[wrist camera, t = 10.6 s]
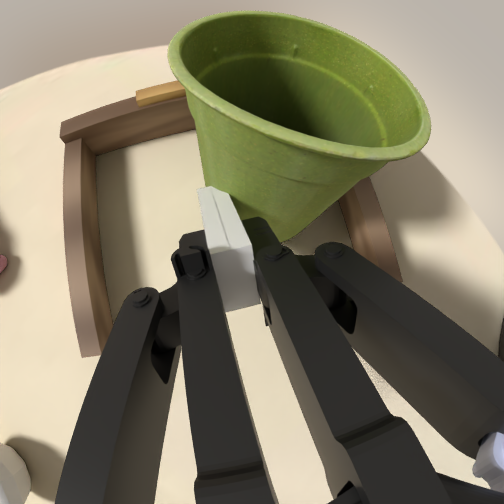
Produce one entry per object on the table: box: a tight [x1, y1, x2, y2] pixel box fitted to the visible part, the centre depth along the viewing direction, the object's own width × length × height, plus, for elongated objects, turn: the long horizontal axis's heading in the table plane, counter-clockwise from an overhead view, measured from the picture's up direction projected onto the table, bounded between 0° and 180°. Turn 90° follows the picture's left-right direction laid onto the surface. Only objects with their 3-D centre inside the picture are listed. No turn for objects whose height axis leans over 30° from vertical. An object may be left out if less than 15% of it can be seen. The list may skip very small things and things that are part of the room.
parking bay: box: [60, 81, 403, 358], centre depth 19 cm, size 17×21×5 cm
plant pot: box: [168, 11, 431, 242], centre depth 16 cm, size 12×12×11 cm
